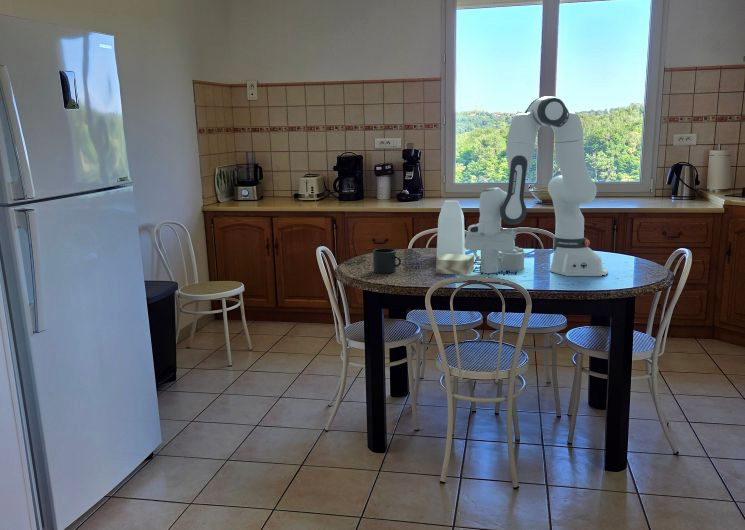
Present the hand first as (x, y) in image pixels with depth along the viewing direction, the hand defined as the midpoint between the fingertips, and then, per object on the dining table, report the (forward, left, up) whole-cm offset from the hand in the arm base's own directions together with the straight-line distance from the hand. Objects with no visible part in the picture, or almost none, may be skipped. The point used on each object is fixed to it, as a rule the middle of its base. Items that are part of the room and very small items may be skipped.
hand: (489, 261), depth 267 cm
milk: (+21, -30, -5) cm, 37 cm away
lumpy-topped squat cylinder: (-8, -12, -5) cm, 15 cm away
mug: (+41, +8, -5) cm, 42 cm away
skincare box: (0, 0, -5) cm, 5 cm away
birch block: (+14, 0, -5) cm, 15 cm away
